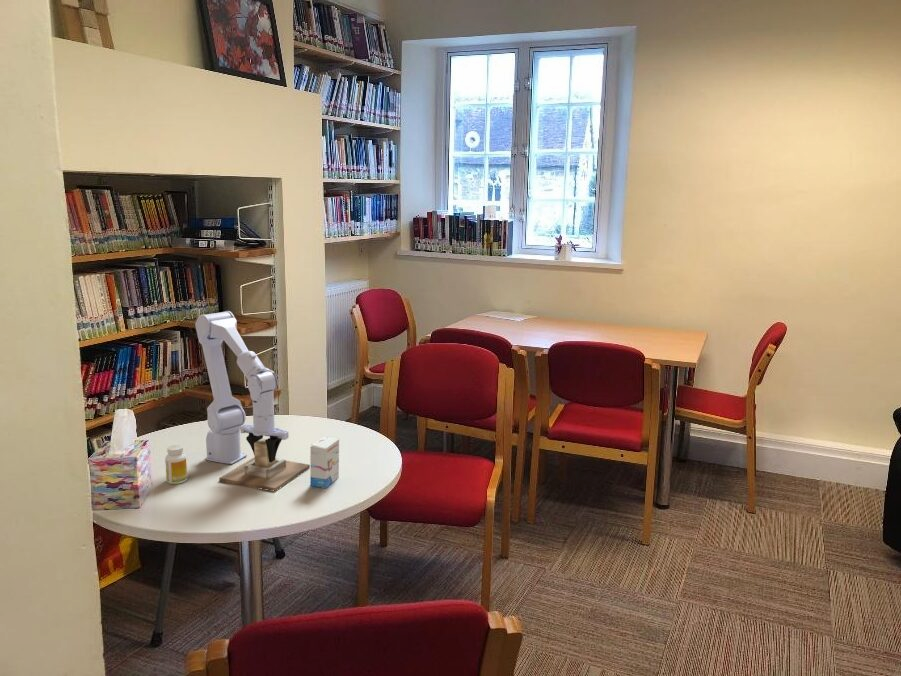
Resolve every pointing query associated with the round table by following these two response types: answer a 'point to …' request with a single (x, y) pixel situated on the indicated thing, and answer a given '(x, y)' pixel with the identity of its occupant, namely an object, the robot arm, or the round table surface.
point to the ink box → (324, 462)
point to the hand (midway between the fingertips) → (265, 459)
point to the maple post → (262, 454)
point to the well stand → (265, 474)
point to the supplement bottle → (176, 465)
